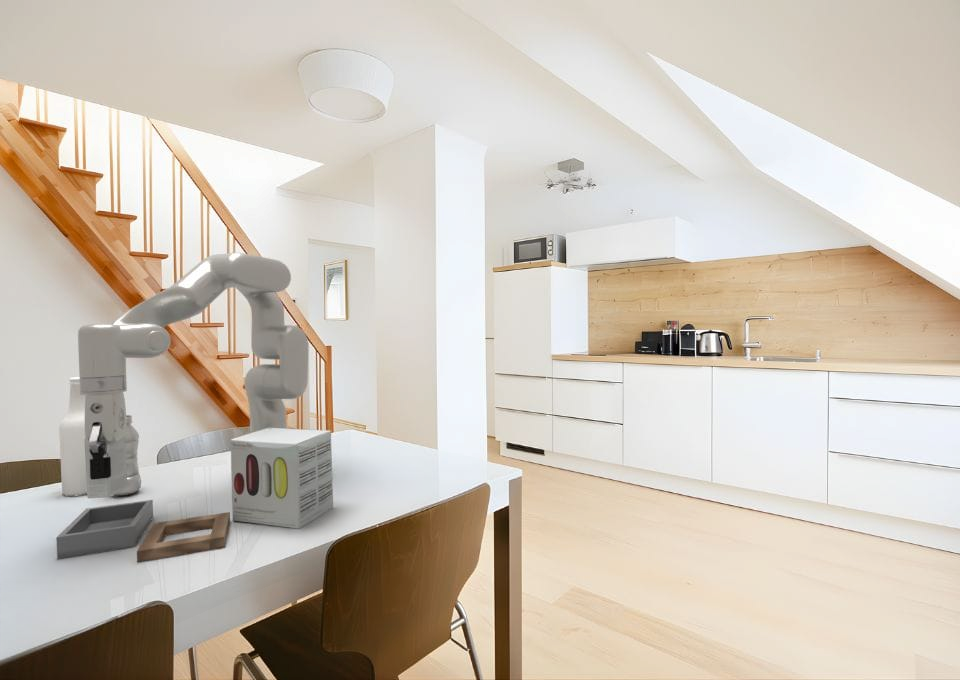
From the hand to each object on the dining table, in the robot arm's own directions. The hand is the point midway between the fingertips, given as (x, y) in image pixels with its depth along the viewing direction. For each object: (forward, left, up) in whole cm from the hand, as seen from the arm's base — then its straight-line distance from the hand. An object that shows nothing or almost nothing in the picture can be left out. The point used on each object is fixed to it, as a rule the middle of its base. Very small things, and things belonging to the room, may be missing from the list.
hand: (106, 472), depth 100 cm
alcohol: (+15, -38, -13) cm, 43 cm away
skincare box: (0, 0, -4) cm, 4 cm away
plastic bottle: (+4, -30, -13) cm, 33 cm away
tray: (0, 0, -13) cm, 13 cm away
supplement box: (-33, +3, -13) cm, 36 cm away
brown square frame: (-15, +9, -13) cm, 22 cm away
